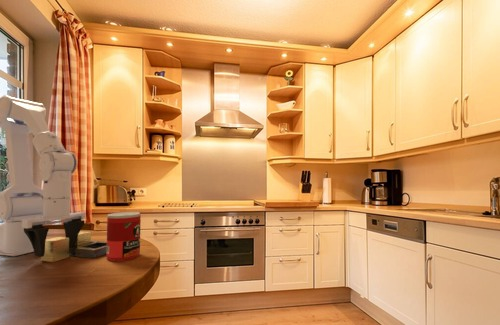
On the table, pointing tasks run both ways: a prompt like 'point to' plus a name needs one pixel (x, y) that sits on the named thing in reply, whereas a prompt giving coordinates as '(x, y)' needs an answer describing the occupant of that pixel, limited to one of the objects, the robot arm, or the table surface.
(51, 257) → the honey wood cube
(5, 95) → the robot arm
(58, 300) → the table surface
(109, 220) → the canned food
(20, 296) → the table surface
